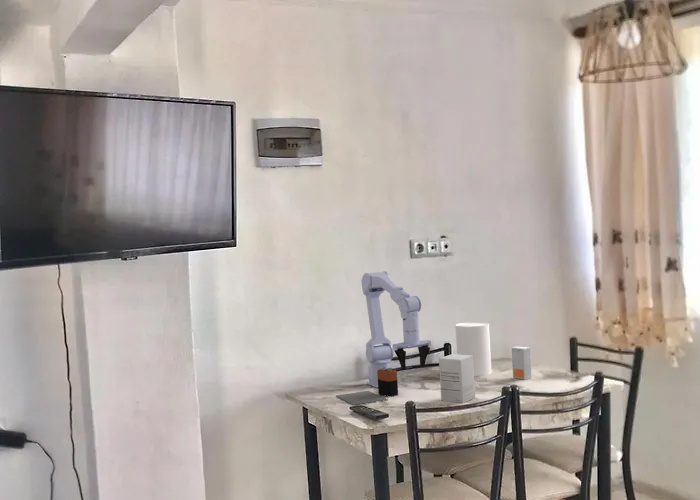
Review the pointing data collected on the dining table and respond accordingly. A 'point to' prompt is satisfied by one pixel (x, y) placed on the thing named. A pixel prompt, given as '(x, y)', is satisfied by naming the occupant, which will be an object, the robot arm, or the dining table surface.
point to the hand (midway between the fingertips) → (413, 367)
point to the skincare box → (521, 362)
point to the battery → (387, 382)
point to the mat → (361, 397)
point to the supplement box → (457, 378)
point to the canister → (475, 345)
